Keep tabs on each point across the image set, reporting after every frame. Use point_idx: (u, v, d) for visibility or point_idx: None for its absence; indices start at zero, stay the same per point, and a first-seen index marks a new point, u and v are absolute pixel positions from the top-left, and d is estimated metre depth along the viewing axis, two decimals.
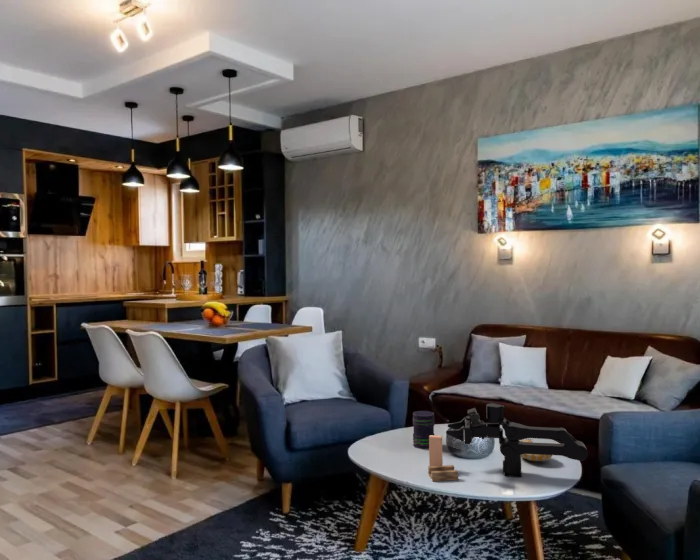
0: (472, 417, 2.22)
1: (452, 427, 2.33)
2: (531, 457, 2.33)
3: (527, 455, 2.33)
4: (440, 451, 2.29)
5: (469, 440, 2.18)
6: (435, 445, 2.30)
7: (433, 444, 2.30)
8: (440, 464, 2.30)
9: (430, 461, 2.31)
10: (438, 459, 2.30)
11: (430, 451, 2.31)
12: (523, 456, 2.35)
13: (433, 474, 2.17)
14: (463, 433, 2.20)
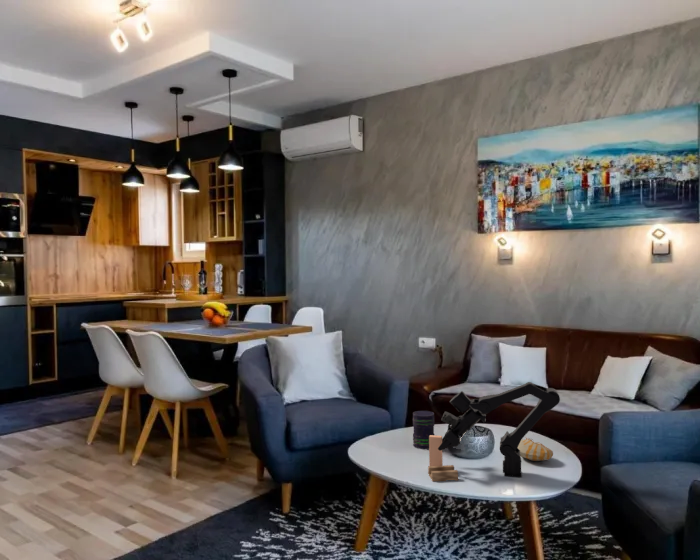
0: (446, 420, 2.26)
1: None
2: (532, 457, 2.33)
3: (528, 455, 2.33)
4: (440, 451, 2.30)
5: (456, 441, 2.20)
6: (435, 445, 2.30)
7: (433, 444, 2.30)
8: (440, 464, 2.30)
9: (430, 461, 2.31)
10: (438, 459, 2.30)
11: (430, 451, 2.31)
12: (524, 456, 2.36)
13: (433, 474, 2.17)
14: (448, 439, 2.22)
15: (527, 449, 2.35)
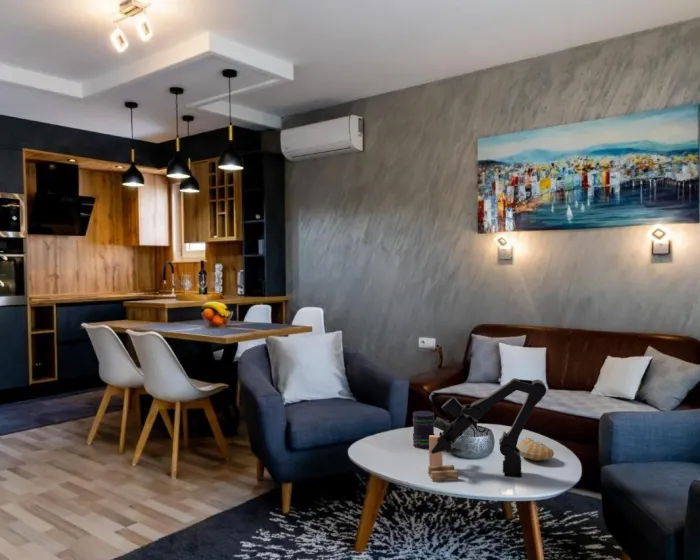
0: (438, 426, 2.26)
1: None
2: (533, 456, 2.33)
3: (529, 454, 2.34)
4: None
5: (448, 446, 2.21)
6: (435, 445, 2.30)
7: (433, 444, 2.30)
8: (440, 464, 2.30)
9: (430, 461, 2.31)
10: (438, 459, 2.30)
11: (430, 451, 2.31)
12: (525, 455, 2.36)
13: (433, 474, 2.17)
14: None
15: (528, 449, 2.35)
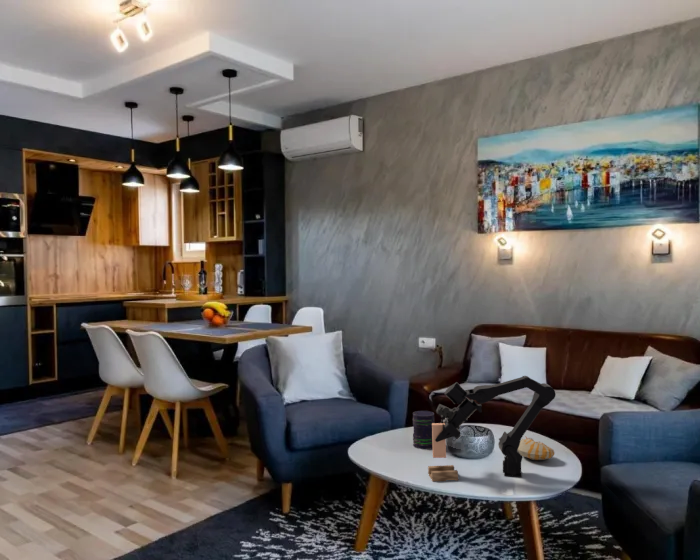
0: (443, 413, 2.20)
1: None
2: (534, 456, 2.34)
3: (530, 454, 2.34)
4: (444, 439, 2.23)
5: (457, 433, 2.15)
6: (438, 433, 2.23)
7: (437, 432, 2.24)
8: (444, 452, 2.24)
9: (434, 450, 2.24)
10: (442, 447, 2.24)
11: (433, 439, 2.24)
12: (526, 455, 2.36)
13: (433, 474, 2.17)
14: (447, 429, 2.20)
15: (529, 448, 2.36)
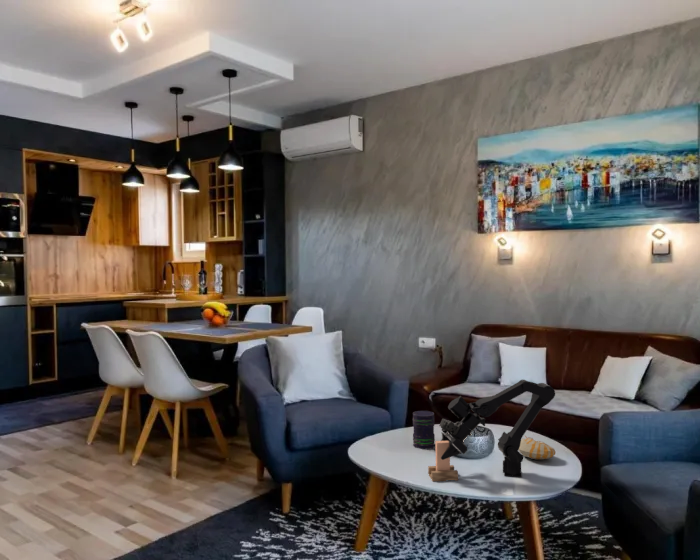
0: (449, 428, 2.17)
1: None
2: (536, 455, 2.35)
3: (532, 454, 2.35)
4: None
5: (464, 448, 2.12)
6: (443, 451, 2.20)
7: (441, 450, 2.20)
8: None
9: (438, 468, 2.20)
10: (446, 465, 2.20)
11: (438, 458, 2.20)
12: (527, 455, 2.37)
13: (433, 474, 2.17)
14: (455, 447, 2.14)
15: (530, 448, 2.36)
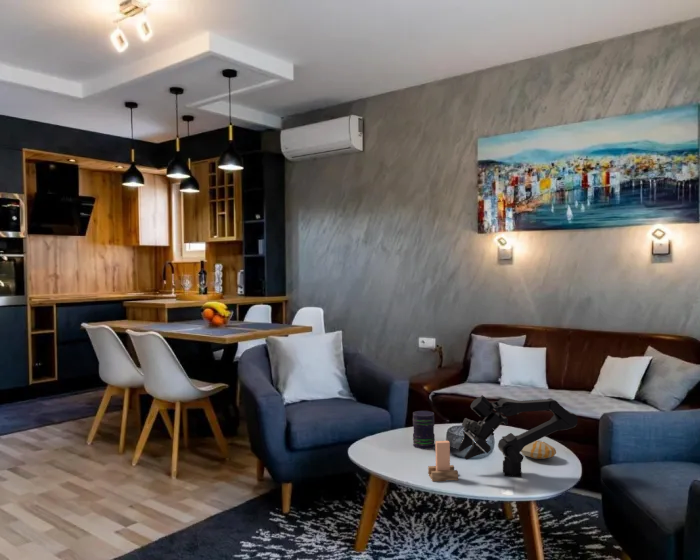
0: (472, 427, 2.17)
1: (463, 448, 2.26)
2: (537, 455, 2.35)
3: (533, 453, 2.35)
4: (448, 457, 2.20)
5: (488, 447, 2.13)
6: (443, 451, 2.20)
7: (441, 450, 2.20)
8: None
9: (438, 468, 2.20)
10: (446, 465, 2.20)
11: (438, 458, 2.20)
12: (529, 454, 2.38)
13: (433, 474, 2.17)
14: (478, 446, 2.14)
15: (532, 448, 2.37)
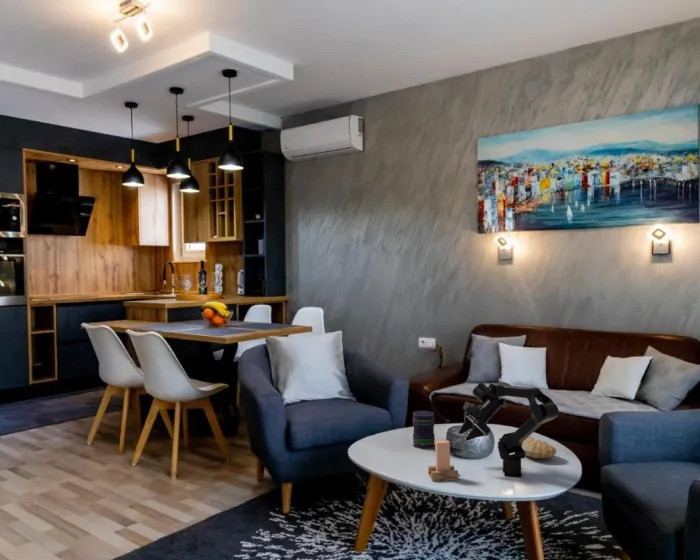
0: (472, 410, 2.27)
1: (463, 431, 2.36)
2: (538, 455, 2.35)
3: (534, 453, 2.36)
4: (448, 457, 2.20)
5: (487, 429, 2.22)
6: (443, 451, 2.20)
7: (441, 450, 2.20)
8: None
9: (438, 468, 2.20)
10: (446, 465, 2.20)
11: (438, 458, 2.20)
12: (529, 454, 2.38)
13: (433, 474, 2.17)
14: (478, 428, 2.23)
15: (532, 447, 2.37)
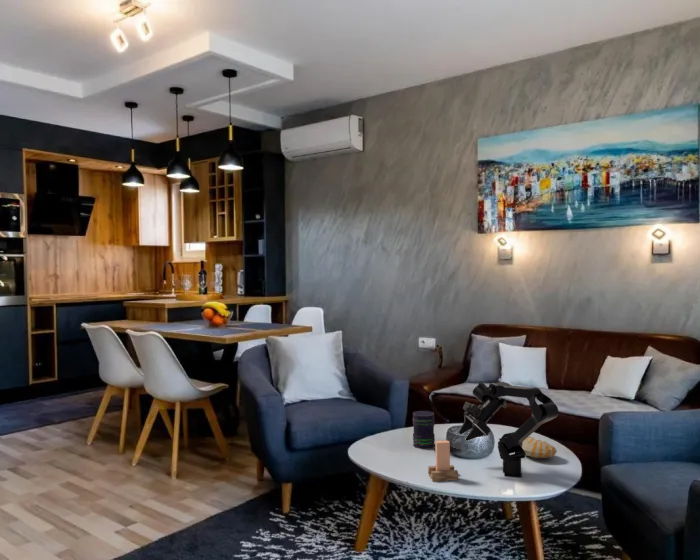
0: (472, 410, 2.27)
1: (463, 431, 2.36)
2: (538, 454, 2.36)
3: (534, 453, 2.36)
4: (448, 457, 2.20)
5: (487, 429, 2.22)
6: (443, 451, 2.20)
7: (441, 450, 2.20)
8: None
9: (438, 468, 2.20)
10: (446, 465, 2.20)
11: (438, 458, 2.20)
12: (529, 454, 2.38)
13: (433, 474, 2.17)
14: (478, 428, 2.23)
15: (532, 447, 2.37)
